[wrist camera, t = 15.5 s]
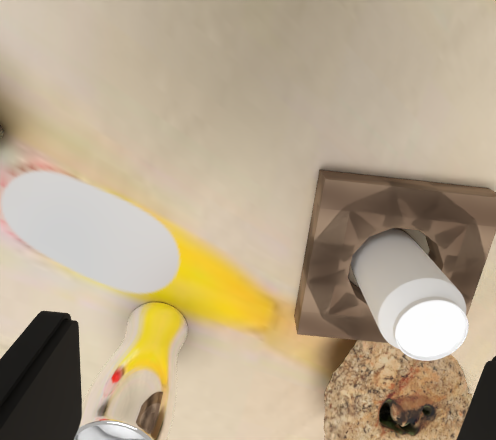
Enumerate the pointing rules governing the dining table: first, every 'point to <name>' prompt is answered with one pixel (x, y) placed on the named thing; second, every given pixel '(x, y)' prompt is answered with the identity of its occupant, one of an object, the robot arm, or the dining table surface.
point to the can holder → (376, 221)
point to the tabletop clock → (1, 132)
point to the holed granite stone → (394, 396)
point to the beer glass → (137, 380)
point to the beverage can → (410, 296)
